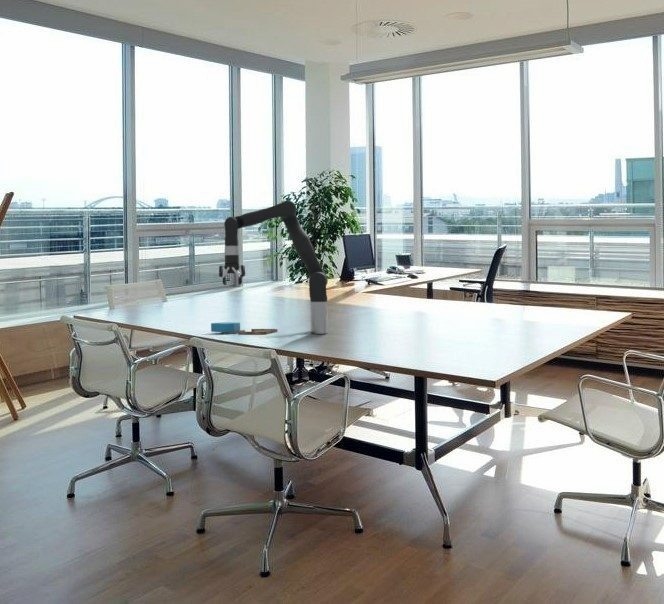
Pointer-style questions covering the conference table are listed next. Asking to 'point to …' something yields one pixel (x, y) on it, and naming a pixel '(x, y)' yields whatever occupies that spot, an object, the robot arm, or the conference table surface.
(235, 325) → the data package
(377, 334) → the conference table surface
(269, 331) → the brown wooden frame
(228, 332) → the rubber mat
